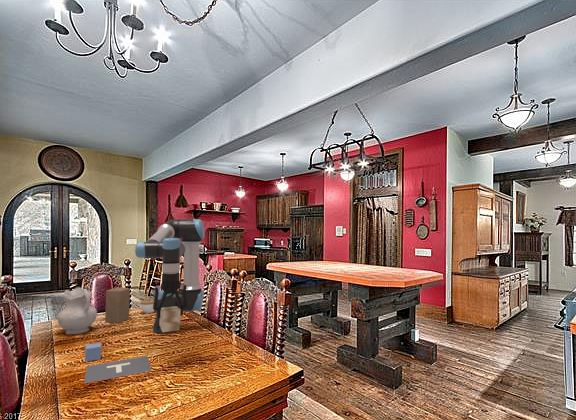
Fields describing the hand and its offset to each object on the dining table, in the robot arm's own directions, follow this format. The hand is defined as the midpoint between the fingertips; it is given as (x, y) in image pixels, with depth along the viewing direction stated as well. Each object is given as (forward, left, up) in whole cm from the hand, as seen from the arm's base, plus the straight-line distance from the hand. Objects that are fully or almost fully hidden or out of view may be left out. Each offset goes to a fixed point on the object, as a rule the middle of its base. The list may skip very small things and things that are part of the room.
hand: (169, 324), depth 148 cm
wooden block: (+19, -85, -17) cm, 89 cm away
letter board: (+20, -2, -16) cm, 26 cm away
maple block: (0, 0, -2) cm, 2 cm away
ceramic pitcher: (+39, -70, -17) cm, 82 cm away
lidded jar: (-1, -98, -17) cm, 100 cm away
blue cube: (+30, -20, -17) cm, 40 cm away
